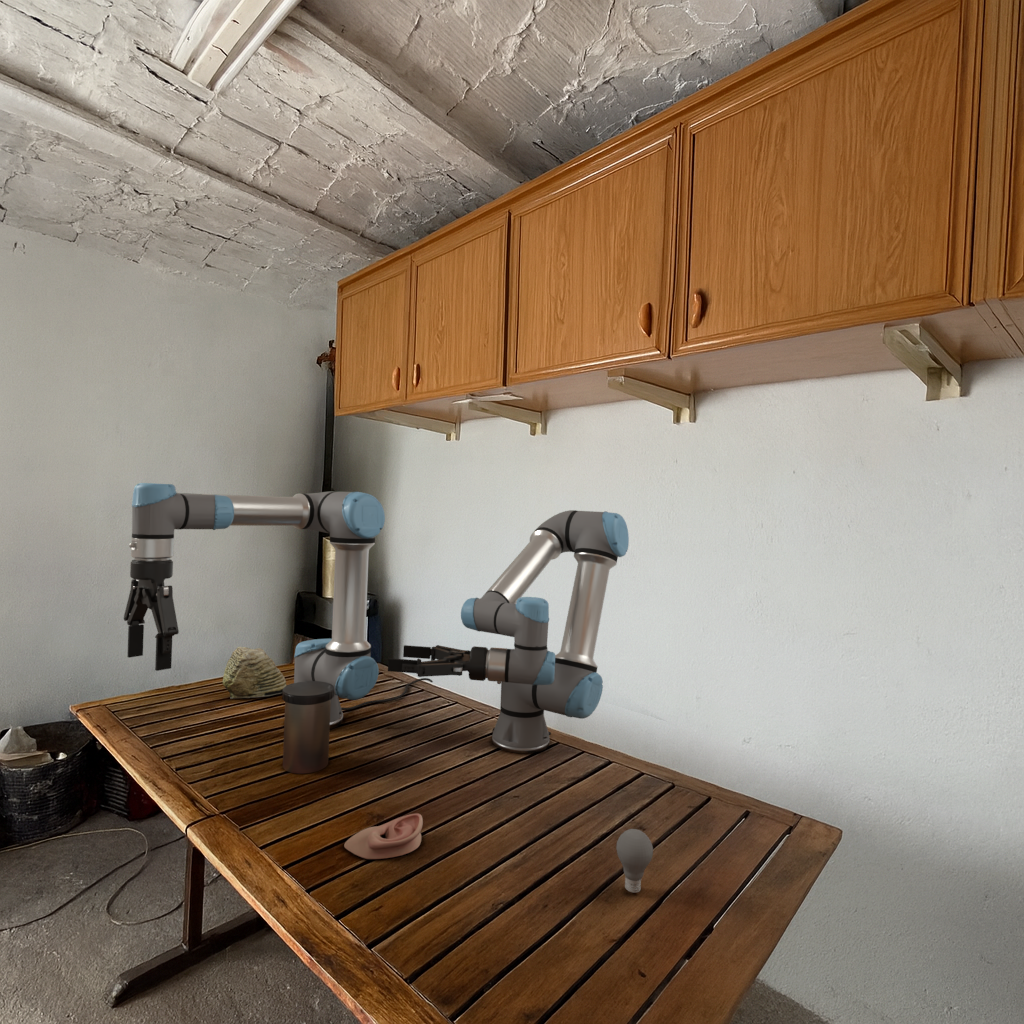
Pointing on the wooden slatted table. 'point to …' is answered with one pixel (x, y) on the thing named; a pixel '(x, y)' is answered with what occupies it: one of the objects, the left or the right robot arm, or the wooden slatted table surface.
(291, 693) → the lid
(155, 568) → the left robot arm
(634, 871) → the light bulb
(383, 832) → the anatomical model
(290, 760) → the jar
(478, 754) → the wooden slatted table surface
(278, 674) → the fossil
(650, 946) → the wooden slatted table surface
